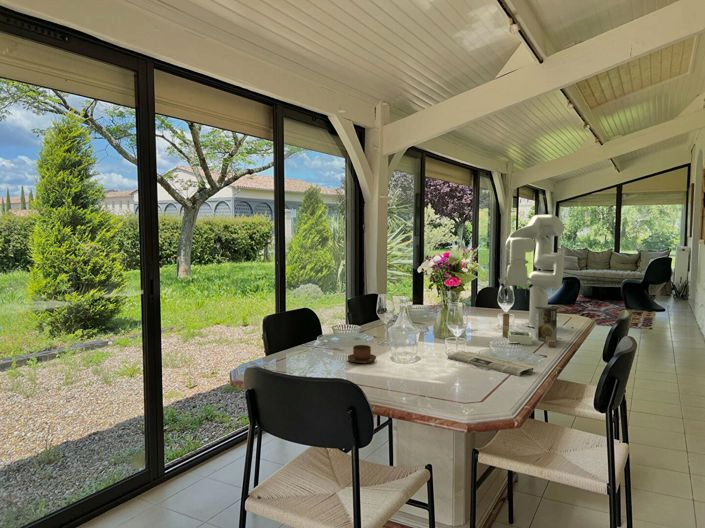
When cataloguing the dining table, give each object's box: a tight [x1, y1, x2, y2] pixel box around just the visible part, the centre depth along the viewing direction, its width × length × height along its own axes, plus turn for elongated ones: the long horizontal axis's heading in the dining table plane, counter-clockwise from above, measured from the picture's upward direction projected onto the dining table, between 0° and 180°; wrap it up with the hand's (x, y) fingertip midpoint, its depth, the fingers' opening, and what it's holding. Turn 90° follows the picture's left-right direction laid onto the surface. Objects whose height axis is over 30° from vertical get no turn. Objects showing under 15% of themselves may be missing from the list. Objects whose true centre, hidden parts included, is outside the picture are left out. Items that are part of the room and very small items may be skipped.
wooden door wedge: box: [545, 336, 557, 348], centre depth 241 cm, size 12×3×3 cm, turn 166°
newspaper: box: [447, 350, 538, 377], centre depth 206 cm, size 35×12×4 cm, turn 41°
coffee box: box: [534, 306, 558, 341], centre depth 251 cm, size 9×6×16 cm
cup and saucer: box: [347, 344, 377, 364], centre depth 210 cm, size 12×12×6 cm
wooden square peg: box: [502, 312, 510, 338], centre depth 258 cm, size 3×3×12 cm
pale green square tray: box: [507, 330, 533, 346], centre depth 246 cm, size 11×11×4 cm
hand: (516, 296), depth 252 cm, fingers open, 9 cm apart
